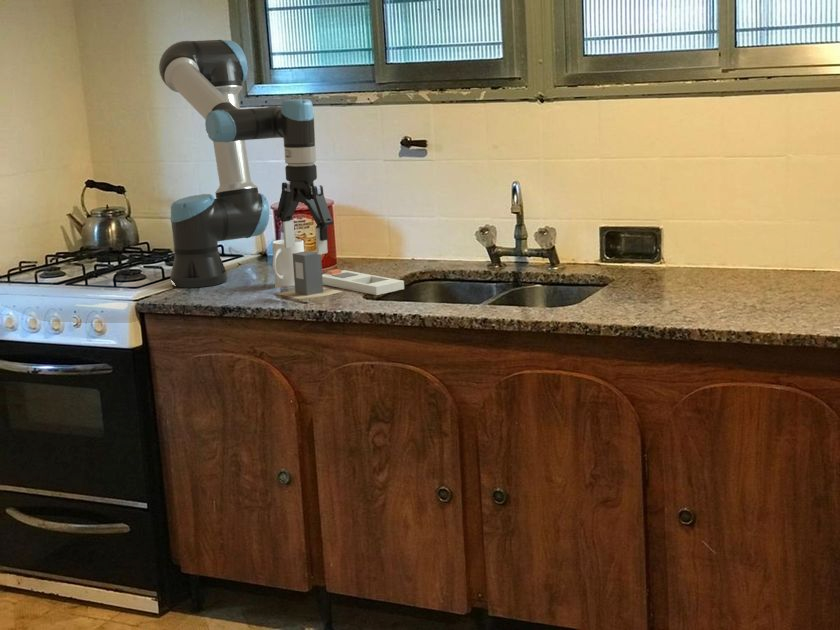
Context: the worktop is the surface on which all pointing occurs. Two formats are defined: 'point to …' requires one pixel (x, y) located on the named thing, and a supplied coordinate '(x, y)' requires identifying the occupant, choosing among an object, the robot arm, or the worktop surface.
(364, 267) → the worktop surface
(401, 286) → the strip
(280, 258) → the mug
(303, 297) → the trivet
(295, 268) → the block
